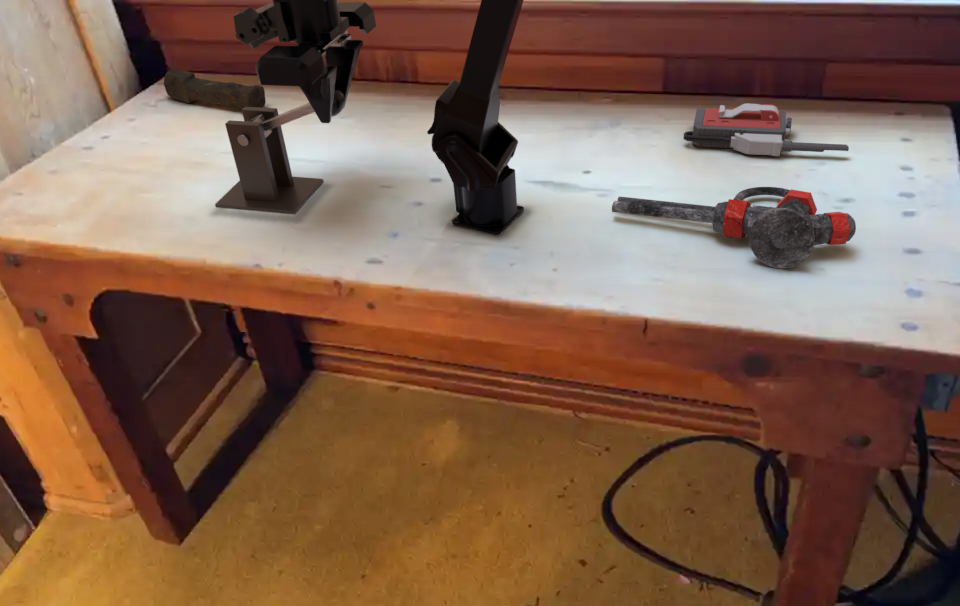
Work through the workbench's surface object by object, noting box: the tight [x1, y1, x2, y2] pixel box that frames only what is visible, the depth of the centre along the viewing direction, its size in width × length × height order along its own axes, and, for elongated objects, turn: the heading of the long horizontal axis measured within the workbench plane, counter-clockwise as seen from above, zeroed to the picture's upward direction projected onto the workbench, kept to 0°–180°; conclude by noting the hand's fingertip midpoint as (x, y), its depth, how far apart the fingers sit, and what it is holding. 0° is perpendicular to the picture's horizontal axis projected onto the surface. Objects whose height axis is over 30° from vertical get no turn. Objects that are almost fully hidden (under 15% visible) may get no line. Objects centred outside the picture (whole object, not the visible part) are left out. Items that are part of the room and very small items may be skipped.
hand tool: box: [163, 69, 267, 110], centre depth 140 cm, size 19×4×5 cm, turn 60°
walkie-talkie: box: [683, 103, 850, 157], centre depth 115 cm, size 9×4×20 cm
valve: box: [611, 186, 857, 269], centre depth 100 cm, size 6×26×15 cm
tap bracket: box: [214, 107, 324, 215], centre depth 111 cm, size 11×8×11 cm
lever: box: [246, 86, 346, 138], centre depth 106 cm, size 15×4×4 cm, turn 72°
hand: (333, 115), depth 104 cm, fingers closed on lever, 3 cm apart
